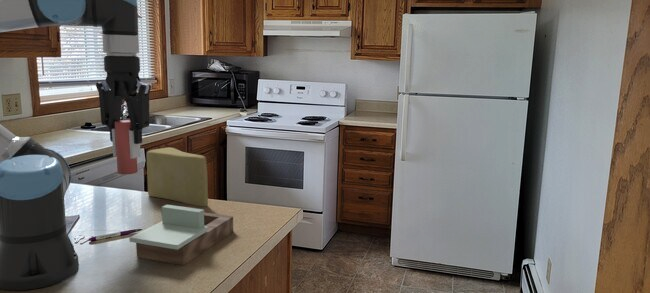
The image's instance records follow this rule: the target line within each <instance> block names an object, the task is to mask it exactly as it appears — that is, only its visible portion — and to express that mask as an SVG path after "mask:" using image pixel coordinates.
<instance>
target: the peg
mask: <svg viewBox="0 0 650 293" xmlns="http://www.w3.org/2000/svg"><path fill="white" fill-rule="evenodd" d="M130 128H132V127H131V122H130V119H127V120H120V121H115V139H116V156H117V157H116V171H117V174H118V175H123V176H124V175H125V176H126V175H133V174H134V175H135V174H137V173H138V157H137V158H133V159H132V158H130V144H129V130H130Z"/></svg>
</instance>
